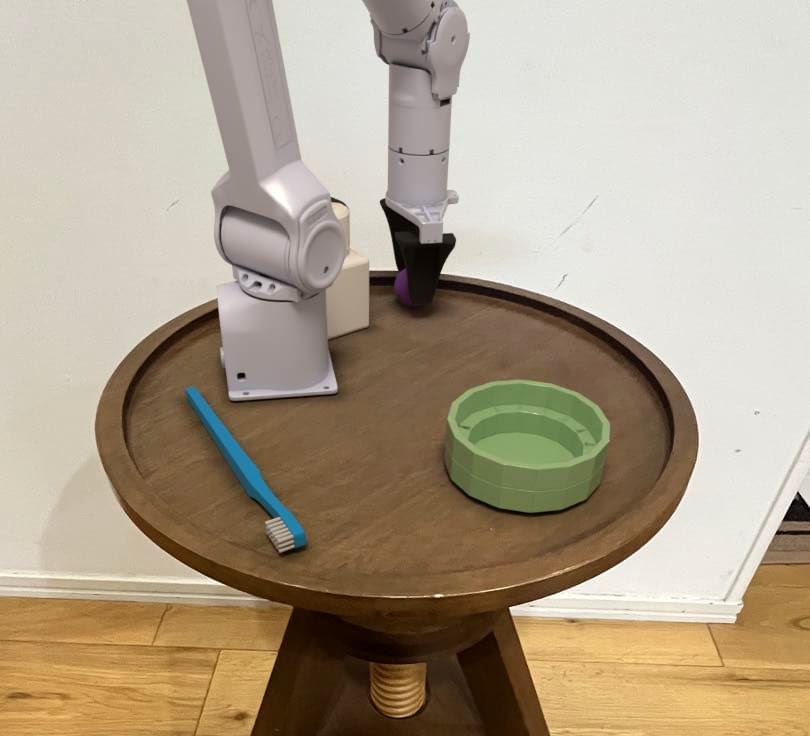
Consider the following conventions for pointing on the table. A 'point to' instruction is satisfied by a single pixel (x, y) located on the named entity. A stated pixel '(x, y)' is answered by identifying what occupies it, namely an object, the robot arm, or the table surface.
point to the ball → (403, 289)
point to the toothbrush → (250, 478)
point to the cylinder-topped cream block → (348, 286)
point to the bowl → (526, 445)
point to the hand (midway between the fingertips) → (414, 285)
